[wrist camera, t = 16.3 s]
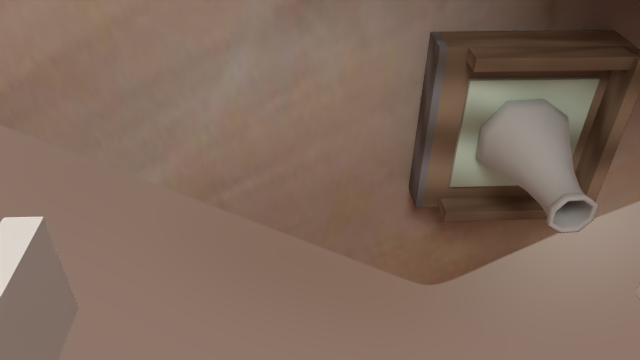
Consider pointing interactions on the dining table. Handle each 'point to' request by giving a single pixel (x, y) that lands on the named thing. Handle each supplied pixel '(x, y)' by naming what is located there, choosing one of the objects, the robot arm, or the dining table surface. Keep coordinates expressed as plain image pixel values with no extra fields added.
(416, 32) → the dining table surface
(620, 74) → the dock
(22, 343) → the robot arm
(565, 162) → the flask
